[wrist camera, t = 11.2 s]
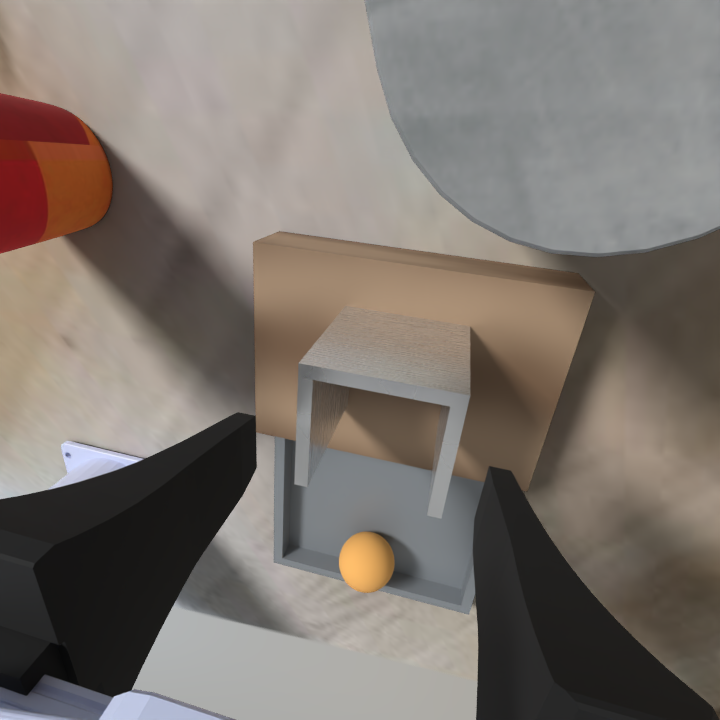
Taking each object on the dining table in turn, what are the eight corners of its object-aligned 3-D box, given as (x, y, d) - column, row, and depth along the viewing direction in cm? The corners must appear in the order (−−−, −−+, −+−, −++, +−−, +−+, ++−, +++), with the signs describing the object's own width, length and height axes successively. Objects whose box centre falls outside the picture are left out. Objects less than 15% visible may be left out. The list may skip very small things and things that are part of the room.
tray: (468, 592, 29) (468, 614, 28) (282, 543, 31) (273, 562, 30) (510, 456, 24) (512, 475, 23) (285, 409, 26) (275, 424, 25)
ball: (400, 542, 26) (400, 539, 29) (344, 524, 26) (351, 524, 29) (385, 605, 24) (387, 595, 28) (327, 586, 25) (336, 578, 28)
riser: (520, 454, 24) (527, 491, 21) (277, 403, 26) (255, 432, 23) (578, 273, 19) (595, 291, 17) (279, 231, 22) (253, 242, 19)
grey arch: (448, 425, 21) (441, 518, 15) (337, 402, 21) (294, 484, 16) (470, 326, 18) (470, 395, 13) (345, 305, 19) (298, 363, 14)
